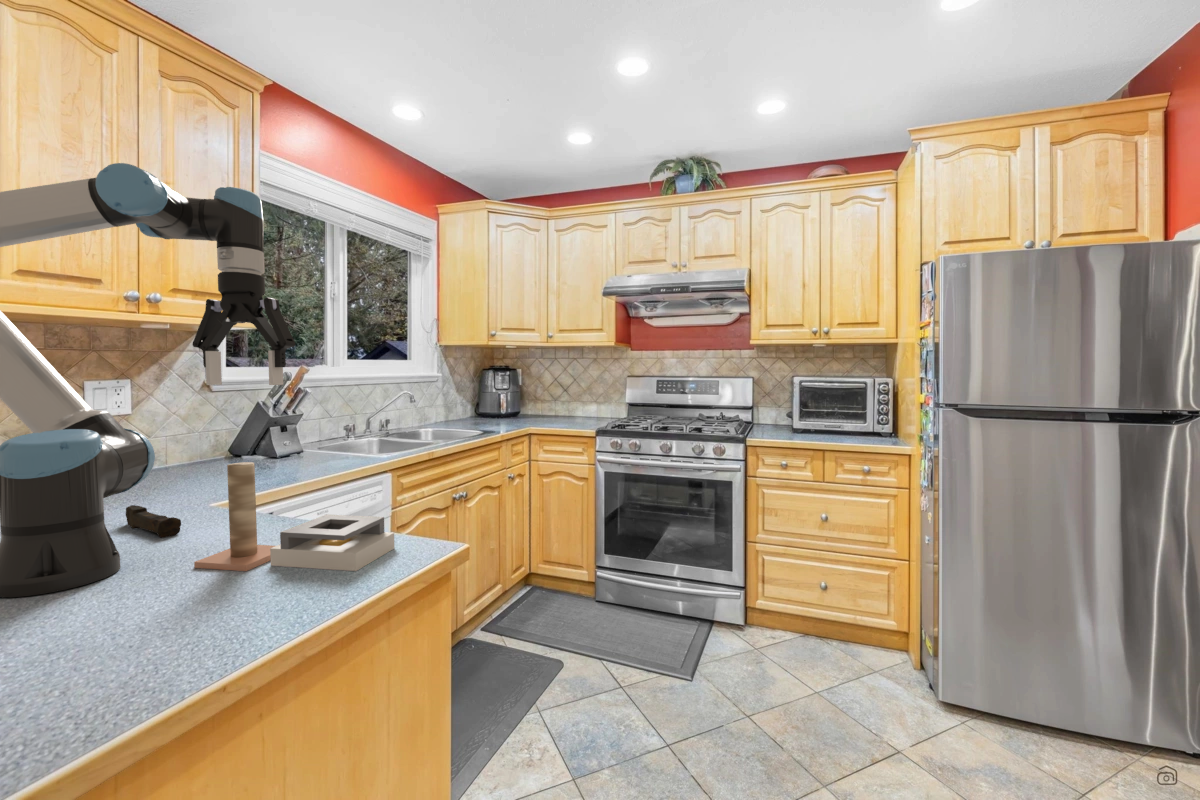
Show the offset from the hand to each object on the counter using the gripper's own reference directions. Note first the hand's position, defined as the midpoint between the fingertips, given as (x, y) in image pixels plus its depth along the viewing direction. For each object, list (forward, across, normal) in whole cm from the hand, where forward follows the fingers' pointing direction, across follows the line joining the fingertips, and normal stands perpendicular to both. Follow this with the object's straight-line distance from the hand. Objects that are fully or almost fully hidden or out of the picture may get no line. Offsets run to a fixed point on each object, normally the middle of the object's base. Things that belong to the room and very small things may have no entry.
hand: (244, 385), depth 105 cm
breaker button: (+31, +22, -5) cm, 38 cm away
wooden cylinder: (+30, +7, -9) cm, 32 cm away
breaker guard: (+31, +22, -5) cm, 38 cm away
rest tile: (+31, +7, -9) cm, 33 cm away
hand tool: (+31, -28, +4) cm, 42 cm away
